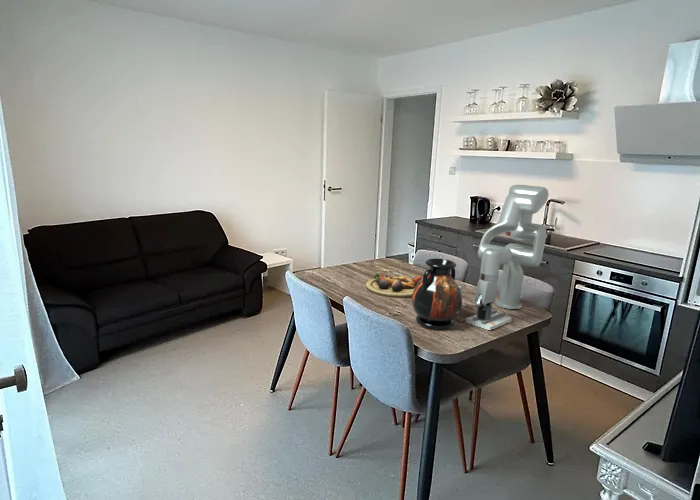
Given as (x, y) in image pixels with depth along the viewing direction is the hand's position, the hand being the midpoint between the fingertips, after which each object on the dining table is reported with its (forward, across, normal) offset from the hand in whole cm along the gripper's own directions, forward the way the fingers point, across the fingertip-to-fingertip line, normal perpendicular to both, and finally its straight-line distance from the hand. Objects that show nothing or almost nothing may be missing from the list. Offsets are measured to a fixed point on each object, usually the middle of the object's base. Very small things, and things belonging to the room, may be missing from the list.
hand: (483, 316), depth 188 cm
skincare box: (+4, -3, -18) cm, 19 cm away
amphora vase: (+4, +17, -13) cm, 22 cm away
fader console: (+4, -5, 0) cm, 6 cm away
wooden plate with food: (+5, -4, -57) cm, 57 cm away
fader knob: (+1, 0, 0) cm, 1 cm away
